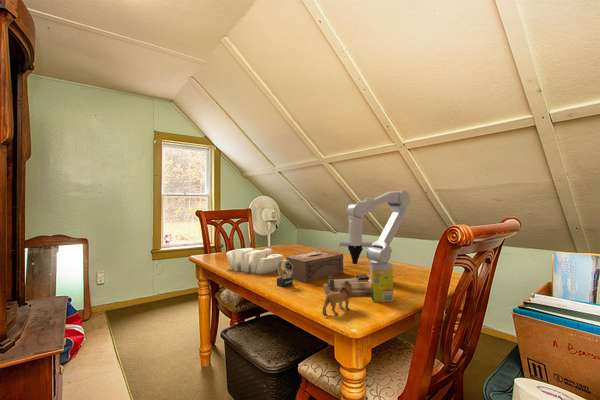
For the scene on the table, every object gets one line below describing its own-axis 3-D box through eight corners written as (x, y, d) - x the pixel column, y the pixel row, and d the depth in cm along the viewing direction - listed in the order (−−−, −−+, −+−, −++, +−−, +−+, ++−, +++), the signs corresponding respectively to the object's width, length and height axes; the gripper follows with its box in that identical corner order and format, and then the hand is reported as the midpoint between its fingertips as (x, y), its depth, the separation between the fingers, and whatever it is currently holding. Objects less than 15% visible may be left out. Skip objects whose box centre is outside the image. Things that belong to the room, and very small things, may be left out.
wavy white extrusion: (219, 268, 158) (219, 249, 158) (239, 262, 172) (239, 245, 172) (268, 276, 139) (268, 255, 139) (287, 269, 154) (286, 250, 154)
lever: (329, 285, 112) (331, 271, 112) (327, 282, 116) (329, 268, 117) (367, 291, 112) (370, 277, 112) (364, 287, 117) (366, 274, 117)
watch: (286, 288, 120) (286, 262, 120) (274, 284, 125) (274, 259, 125) (295, 285, 124) (295, 260, 124) (283, 281, 129) (283, 257, 129)
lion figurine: (342, 303, 101) (342, 278, 102) (355, 306, 98) (355, 280, 98) (318, 315, 90) (317, 287, 90) (331, 320, 87) (331, 291, 87)
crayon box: (391, 299, 105) (390, 267, 105) (393, 301, 102) (393, 269, 102) (371, 299, 105) (370, 268, 105) (373, 302, 102) (373, 270, 102)
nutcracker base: (367, 286, 121) (367, 273, 121) (375, 295, 109) (375, 281, 109) (323, 287, 120) (323, 274, 120) (327, 296, 108) (326, 282, 108)
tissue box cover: (323, 268, 155) (323, 250, 155) (343, 273, 144) (343, 254, 144) (286, 277, 138) (286, 256, 138) (305, 283, 127) (305, 261, 127)
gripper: (340, 232, 116) (339, 265, 116) (374, 233, 117) (374, 265, 116) (337, 230, 123) (336, 261, 123) (369, 231, 124) (369, 262, 124)
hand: (354, 263), depth 120 cm, fingers closed
